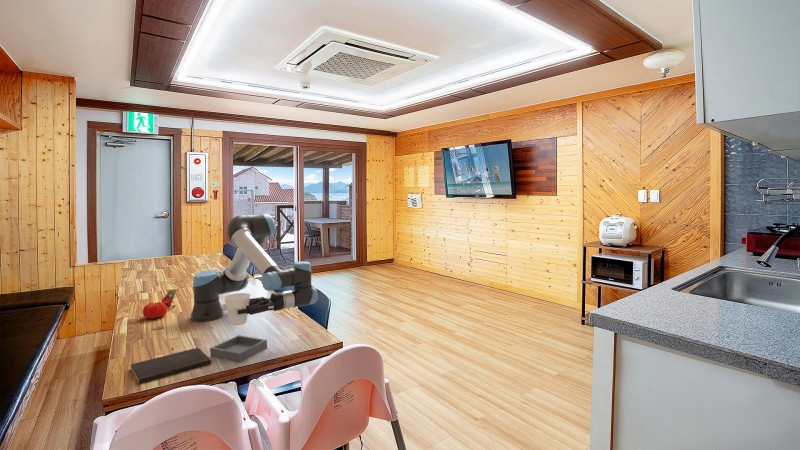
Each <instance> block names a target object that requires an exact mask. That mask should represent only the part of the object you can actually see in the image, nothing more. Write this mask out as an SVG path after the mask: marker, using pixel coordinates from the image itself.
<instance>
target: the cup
mask: <svg viewBox="0 0 800 450" xmlns="http://www.w3.org/2000/svg"><path fill="white" fill-rule="evenodd" d="M223 299H224V304H226V307H227V311H226V312H227V313H228V310H229V309H235V308H241V307H246V306H249V299H251V294H250V293H247V292H245V293H244V292H237V293H231V294H227V295H225V296H224V297H223ZM247 320H248V314H242V315H237V316H231V317H228V321H229V324H230V325H232V326H240V325H244V324H246V323H247Z"/></svg>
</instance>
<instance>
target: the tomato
mask: <svg viewBox="0 0 800 450" xmlns="http://www.w3.org/2000/svg"><path fill="white" fill-rule="evenodd" d="M167 313H168V306H166V305H165V304H164V303H162V301H157V302H156V301H155V302H149V303H147V304H145V305H144V307H143V309H142V315H143V317H144V318H146V319H149V318H156V319H158V318H162V317H164V316H165V315H167Z"/></svg>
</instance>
